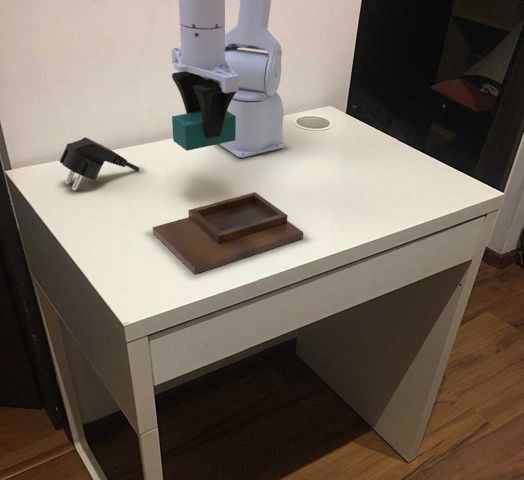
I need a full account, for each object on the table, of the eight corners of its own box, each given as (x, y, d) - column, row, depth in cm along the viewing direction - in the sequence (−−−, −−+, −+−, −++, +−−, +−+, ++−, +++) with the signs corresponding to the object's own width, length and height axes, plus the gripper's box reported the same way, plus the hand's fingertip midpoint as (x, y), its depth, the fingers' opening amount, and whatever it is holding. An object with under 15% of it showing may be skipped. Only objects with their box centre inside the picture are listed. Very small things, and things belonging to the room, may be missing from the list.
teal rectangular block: (221, 131, 87) (221, 107, 84) (235, 140, 84) (235, 115, 82) (173, 141, 83) (171, 116, 81) (186, 151, 81) (185, 125, 78)
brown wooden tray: (256, 204, 87) (256, 190, 85) (303, 238, 80) (304, 224, 78) (152, 233, 79) (151, 219, 78) (194, 274, 72) (193, 259, 71)
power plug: (148, 170, 92) (82, 139, 83) (127, 213, 94) (61, 187, 85) (131, 158, 95) (66, 126, 86) (112, 199, 97) (46, 173, 88)
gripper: (148, 14, 76) (156, 119, 85) (203, 40, 68) (205, 154, 77) (195, 9, 80) (198, 111, 89) (253, 34, 71) (250, 144, 80)
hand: (204, 130), depth 83 cm, fingers closed on teal rectangular block, 4 cm apart
